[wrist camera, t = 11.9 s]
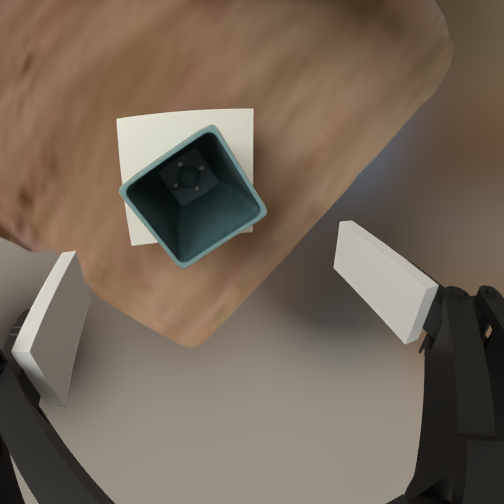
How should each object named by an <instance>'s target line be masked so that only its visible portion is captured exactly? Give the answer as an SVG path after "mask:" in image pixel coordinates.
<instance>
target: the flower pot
mask: <svg viewBox="0 0 504 504" xmlns="http://www.w3.org/2000/svg"><path fill="white" fill-rule="evenodd" d="M179 162H182V163H183V165H182V166H181V167H179V166H178V163H179ZM200 166H204V170H199V167H200ZM175 183H177V184H178V187H177V188H175V187H174V186H173V185H174V184H175ZM197 186H198V187H199V190H198V191H195V187H197ZM119 194H120V196H121V197H122V198H123V200H124V201H125V202H126V203H127V204H128V206H129V207H130V208H131V210H132V211H133V212H134V213H135V215H136V216H137V217H138V218H139V219H140V221H141V222H142V223H143V224H144V225H145V227H146V228H147V229H148V230H149V232H150V233H151V234H152V235H153V236H154V238H155V239H156V240H157V241H158V243H159V244H160V245H161V246H162V247H163V249H164V250H165V251H166V252H167V254H168V255H169V256H170V257H171V259H172V260H173V261H174V262H175V264H176V265H177V266H179V267H180V268H182V269H185V268H187V267H189V266H191V265H192V264H194V263H195V262H197V261H198V260H200V259H201V258H203V257H204V256H205V255H207V254H208V253H210V252H211V251H213V250H215V249H216V248H218V247H219V246H220V245H222V244H224V243H225V242H227V241H228V240H230V239H231V238H233V237H234V236H236V235H238V234H239V233H241V232H242V231H244V230H245V229H247V228H248V227H250V226H252V225H253V224H255V223H256V222H258V221H260V220H261V219H262V218H264V217H265V216H266V215H267V208H266V206H265V205H264V203H263V201H262V200H261V198H260V197H259V195H258V193H257V192H256V190H255V189H254V187H253V185H252V184H251V182H250V181H249V179H248V177H247V176H246V174H245V172H244V171H243V169H242V167H241V166H240V164H239V162H238V161H237V159H236V157H235V156H234V154H233V153H232V151H231V149H230V148H229V146H228V144H227V143H226V141H225V139H224V138H223V136H222V134H221V133H220V131H219V129H218V128H217V127H216V126H215V125H208V126H206V127H204V128H202V129H200V130H199V131H197V132H196V133H194V134H193V135H191V136H190V137H188V138H187V139H185V140H184V141H182V142H181V143H180V144H178V145H177V146H175V147H174V148H172V149H171V150H169V151H168V152H166V153H165V154H164V155H162V156H161V157H159V158H158V159H156V160H155V161H153V162H152V163H151V164H149V165H148V166H146V167H145V168H144V169H142V170H141V171H139V172H138V173H136V174H135V175H134V176H133V177H132V178H130V179H129V180H128V181H127V182H125V183H124V184H123V185H122V186H121V187H120V189H119Z"/></svg>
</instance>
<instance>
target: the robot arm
mask: <svg viewBox="0 0 504 504" xmlns="http://www.w3.org/2000/svg"><path fill="white" fill-rule="evenodd" d="M334 269H335V270H336V271H337V272H338V273H339V274H340V275H341V276H342V277H343V278H344V279H345V280H346V281H347V282H348V283H349V284H350V285H351V286H352V287H353V288H354V289H355V290H356V292H357V293H358V294H359V295H360V296H361V297H362V298H363V299H364V300H365V301H366V302H367V303H368V304H369V305H370V306H371V307H372V309H373V310H374V311H375V312H376V313H377V314H378V315H379V316H380V317H381V318H382V319H383V320H384V322H385V323H386V324H387V325H388V326H389V327H390V328H391V329H392V330H393V331H394V333H395V334H397V336H398V337H399V338H400V339H401V340H402V341H403V343H405V344H408V343H410V342H413V341H415V340H417V339H418V338H419V335H420V333H421V331H422V328H423V329H424V330H425V331H426V332H427V334H426V336H425V339H424V341H423V343H422V345H421V348H420V350H419V353H421V352H422V350H423V349H424V348H425V353H424V354H425V373H424V374H425V376H424V377H425V378H424V399H423V412H422V424H421V434H420V441H419V449H418V456H417V462H416V468H415V473H414V476H413V479H412V480H411V482H410V484H409V486H408V487H407V490H406V492H405V495H401V496H399V497H397V498H396V499H394V500H392V501H390V502H388V503H387V504H504V298H503V296H502V295H501V294H500V293H499V292H498V291H497V290H496V289H495V288H493V287H491V286H481V287H480V288H479V290H478V293H477V295H476V296H469V294H468V293H467V292H466V291H464V290H462V289H461V288H458V287H454V286H449V287H446V288H444V287H443V286H442V285H440V284H439V283H438V282H437V281H436V280H434V279H433V278H432V277H430V276H429V275H428V274H426V273H425V272H424V271H423V270H420V268H419V267H417V266H416V265H415V264H413V263H412V262H410V261H408V260H406V259H404V258H403V257H402V256H400V255H399V254H398V253H396V252H395V251H394V250H392V249H391V248H390V247H388V246H387V245H386V244H384V243H383V242H381V241H380V240H379V239H377V238H376V237H374V236H373V235H371V234H370V233H369V232H367V231H366V230H365V229H363V228H362V227H360V226H359V225H357V224H356V223H354V222H353V221H342V222H340V224H339V232H338V240H337V247H336V255H335V262H334ZM89 303H90V297H89V294H88V290H87V287H86V284H85V281H84V277H83V274H82V270H81V267H80V263H79V259H78V256H77V252H76V251H71V252H64V253H62V254H61V256H60V257H59V259H58V261H57V262H56V264H55V266H54V268H53V269H52V271H51V273H50V274H49V276H48V278H47V280H46V281H45V283H44V285H43V287H42V289H41V290H40V293H39V294H38V296H37V298H36V300H35V302H34V304H33V306H32V308H31V309H28V310H25V311H24V312H23V313H22V314H21V315H20V316H19V317H18V319H17V321H16V323H15V325H14V328H13V329H12V331H11V333H10V334H11V335H9V337H8V339H7V342H6V344H5V346H4V348H3V351H1V349H0V504H25V502H24V500H23V497H22V494H21V491H20V488H19V485H18V482H17V479H16V476H15V472H14V469H13V465H12V461H11V457H10V454H11V456H12V458H13V460H14V462H15V464H16V466H17V468H18V470H19V471H20V473H21V475H22V477H23V478H24V480H25V482H26V484H27V485H28V487H29V489H30V490H31V492H32V493H33V495H34V497H35V498H36V500H37V501H38V503H39V504H115V503H114V502H113V501H112V500H111V499H110V498H109V497H108V496H107V495H106V494H105V493H104V491H103V490H102V489H101V488H100V487H99V486H98V485H97V484H96V483H95V481H94V480H93V479H92V478H91V477H90V476H89V474H88V473H87V472H86V471H85V470H84V468H83V467H82V466H81V465H80V463H79V462H78V461H77V460H76V458H75V457H74V456H73V454H72V453H71V452H70V451H69V449H68V448H67V446H66V445H65V444H64V442H63V441H62V439H61V438H60V436H59V435H58V434H57V432H56V431H55V429H54V428H53V426H52V425H51V423H50V422H49V420H48V419H47V417H46V415H45V414H44V412H43V411H42V409H41V408H40V407H39V401H40V397H41V398H42V399H43V401H44V402H45V404H47V406H48V407H65V406H66V400H67V394H68V389H69V384H70V379H71V373H72V369H73V364H74V360H75V356H76V351H77V347H78V343H79V339H80V335H81V331H82V328H83V324H84V320H85V317H86V313H87V310H88V306H89ZM489 326H491V328H492V332H491V334H490V336H489V337H488V338H487V337H486V335H485V334H486V332H487V330H488V328H489ZM9 452H10V453H9ZM450 500H451V501H450Z"/></svg>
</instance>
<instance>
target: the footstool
mask: <svg viewBox="0 0 504 504" xmlns="http://www.w3.org/2000/svg"><path fill="white" fill-rule="evenodd" d="M208 125H215V126H216V127H217V128H218V129H219V131H220V133H221V134H222V136H223V138H224V139H225V141H226V143H227V144H228V146H229V148H230V149H231V151H232V153H233V154H234V156H235V157H236V159H237V161H238V162H239V164H240V166H241V167H242V169H243V171H244V172H245V174H246V176H247V177H248V179H249V181H250V182H251V184H252V185H253V109H213V110H194V111H180V112H168V113H158V114H149V115H141V116H133V117H126V118H119V119H117V132H118V145H119V157H120V167H121V176H122V185H123V184H124V183H125V182H127V181H128V180H129V179H130V178H132V177H133V176H134V175H135V174H136V173H138V172H139V171H141V170H142V169H144V168H145V167H146V166H148V165H149V164H151V163H152V162H153V161H155V160H156V159H158V158H159V157H161V156H162V155H164V154H165V153H166V152H168V151H169V150H171V149H172V148H174V147H175V146H177V145H178V144H180V143H181V142H182V141H184V140H185V139H187V138H188V137H190V136H191V135H193V134H194V133H196V132H197V131H199V130H200V129H202V128H204V127H206V126H208ZM182 165H183V163H182V162H179V163H178V166H179V167H181V166H182ZM199 170H204V166H200V167H199ZM173 186H174V187H175V188H177V187H178V184H177V183H175V184H174V185H173ZM198 190H199V187H198V186H197V187H195V191H198ZM125 208H126V214H127V221H128V227H129V233H130V239H131V245H132V246H134V245H142V244H150V243H158V241H157V240H156V239H155V238H154V236H153V235H152V234H151V233H150V232H149V230H148V229H147V228H146V227H145V225H144V224H143V223H142V222H141V221H140V219H139V218H138V217H137V216H136V215H135V213H134V212H133V211H132V210H131V208H130V207H129V206H128V204H127V203H126V202H125ZM247 232H253V225H252V226H250V227H248V228H247V229H245V230H244V231H242V232H241V233H247Z"/></svg>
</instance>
